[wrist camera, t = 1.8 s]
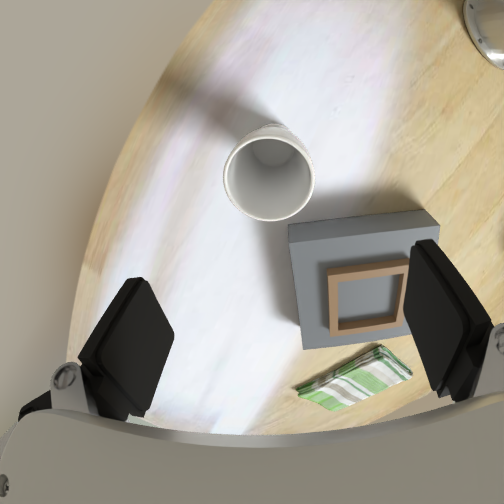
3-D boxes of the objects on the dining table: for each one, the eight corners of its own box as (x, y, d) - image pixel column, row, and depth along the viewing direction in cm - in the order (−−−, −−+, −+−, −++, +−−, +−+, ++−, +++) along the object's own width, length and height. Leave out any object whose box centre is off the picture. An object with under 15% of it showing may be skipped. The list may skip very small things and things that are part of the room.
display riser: (288, 224, 38) (288, 249, 32) (424, 209, 34) (445, 231, 29) (302, 327, 48) (303, 356, 42) (410, 312, 44) (420, 339, 39)
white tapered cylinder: (247, 115, 31) (222, 131, 18) (304, 120, 30) (321, 139, 18) (244, 168, 34) (221, 219, 22) (299, 173, 34) (309, 227, 21)
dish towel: (412, 369, 54) (416, 381, 51) (336, 407, 64) (337, 418, 61) (380, 340, 49) (384, 354, 46) (294, 386, 59) (294, 399, 56)
